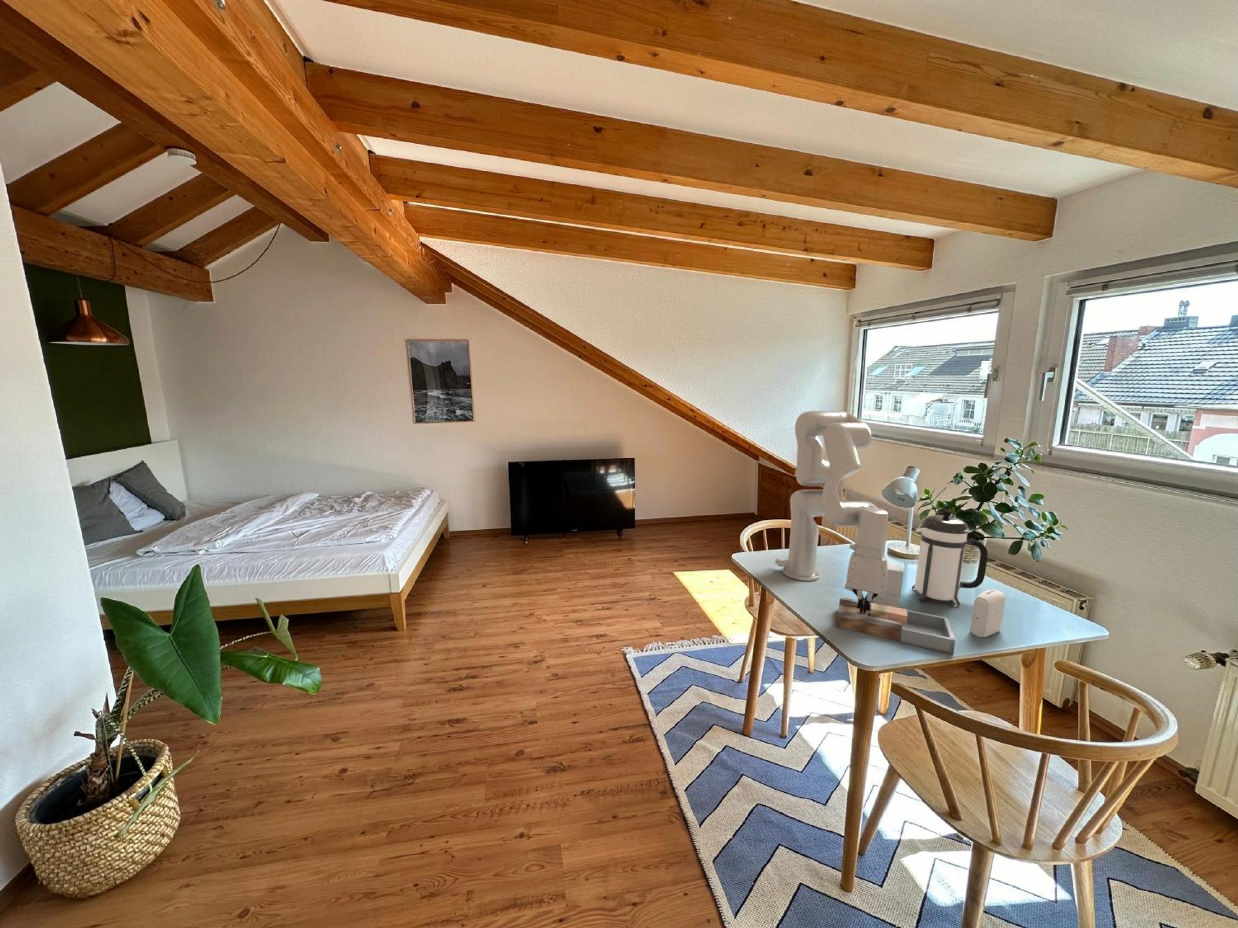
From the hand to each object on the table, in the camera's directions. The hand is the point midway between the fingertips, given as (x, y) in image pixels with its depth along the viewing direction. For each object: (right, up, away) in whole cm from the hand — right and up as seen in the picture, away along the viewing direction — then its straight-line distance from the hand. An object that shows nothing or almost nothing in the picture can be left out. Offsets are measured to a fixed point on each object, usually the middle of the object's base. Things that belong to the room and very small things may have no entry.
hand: (862, 611), depth 142 cm
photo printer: (+34, -5, -3) cm, 34 cm away
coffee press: (+35, -2, +19) cm, 39 cm away
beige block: (+4, -1, -2) cm, 4 cm away
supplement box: (+14, -2, +15) cm, 21 cm away
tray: (+14, -5, -6) cm, 16 cm away
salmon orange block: (+8, -2, -4) cm, 9 cm away
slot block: (+1, -4, 0) cm, 4 cm away
